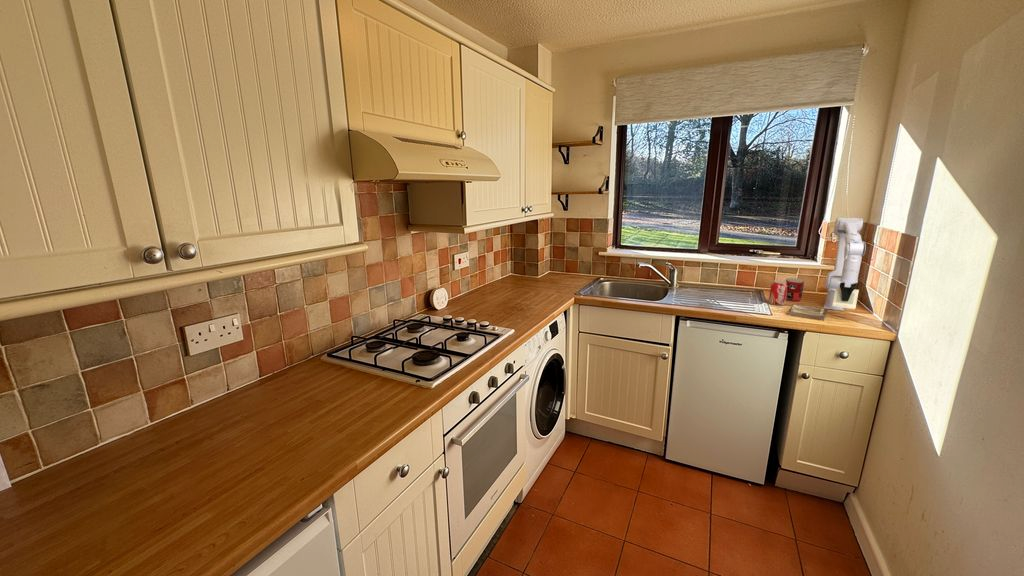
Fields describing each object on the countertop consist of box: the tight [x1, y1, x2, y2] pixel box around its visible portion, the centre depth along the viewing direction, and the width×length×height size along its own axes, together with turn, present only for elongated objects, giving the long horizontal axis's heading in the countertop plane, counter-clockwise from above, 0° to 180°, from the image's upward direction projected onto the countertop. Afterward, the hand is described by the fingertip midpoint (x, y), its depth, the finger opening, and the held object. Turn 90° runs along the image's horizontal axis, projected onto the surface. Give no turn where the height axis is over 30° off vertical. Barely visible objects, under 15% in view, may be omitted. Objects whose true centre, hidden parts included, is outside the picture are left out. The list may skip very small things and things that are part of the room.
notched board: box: [786, 303, 829, 322], centre depth 197 cm, size 20×14×2 cm
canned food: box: [785, 277, 805, 303], centre depth 218 cm, size 8×8×11 cm
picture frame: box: [832, 287, 860, 310], centre depth 184 cm, size 5×8×8 cm, turn 49°
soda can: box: [768, 280, 788, 307], centre depth 210 cm, size 7×7×12 cm
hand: (845, 300), depth 184 cm, fingers closed on picture frame, 3 cm apart
